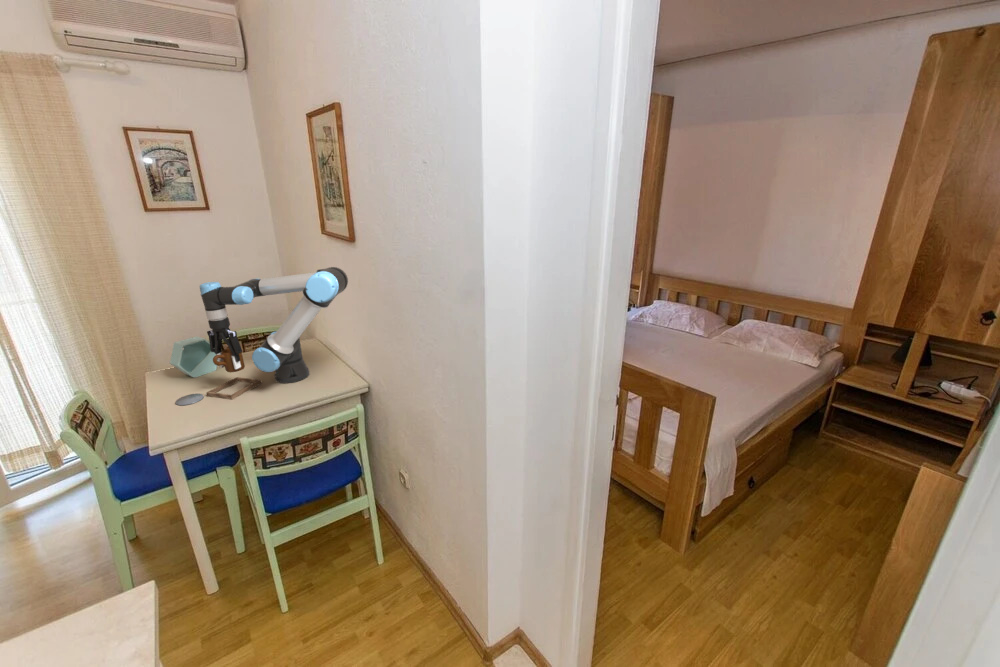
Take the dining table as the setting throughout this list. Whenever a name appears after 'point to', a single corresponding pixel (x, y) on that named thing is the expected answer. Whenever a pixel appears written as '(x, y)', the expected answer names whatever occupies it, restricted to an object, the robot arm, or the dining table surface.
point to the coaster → (189, 399)
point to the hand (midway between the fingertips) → (230, 367)
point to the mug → (228, 361)
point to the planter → (193, 357)
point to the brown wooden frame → (218, 395)
